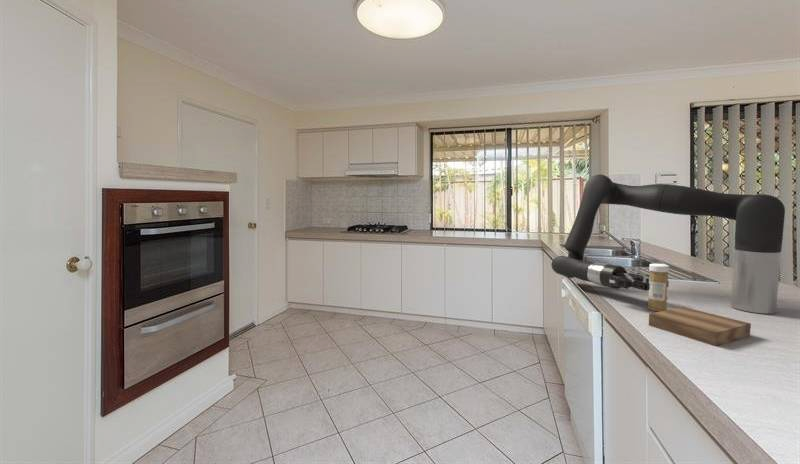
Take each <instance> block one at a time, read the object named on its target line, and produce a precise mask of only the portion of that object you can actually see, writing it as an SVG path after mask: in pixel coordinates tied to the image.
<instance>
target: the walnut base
mask: <svg viewBox="0 0 800 464" xmlns="http://www.w3.org/2000/svg"><path fill="white" fill-rule="evenodd" d="M648 326H650V327H654V328H657V329H660V330H663V331H666V332H670V333H672V334H676V335H679V336H683V337H686V338H688V339H692V340H695V341H698V342H702V343H705V344H707V345H711V346H714V347H717V346H720V345H723V344H727V343H730V342H731V343H732V342H733V341H737V340H740V339H741V340H742V339H744V338H747V337H750V336H751V328H752V327H751V326H752V323H751V322H746V321H742V320H738V319H735V318H730V317H725V316H723V315H717V314H713V313H709V312H705V311H701V310H697V309H694V308H689V307H685V306H681V307H679V306H678V307H675V308H670V309H667V310H665V311H660V312H659V311H654V312H653V313H652V312H651V313H648Z"/></svg>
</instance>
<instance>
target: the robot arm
mask: <svg viewBox="0 0 800 464" xmlns="http://www.w3.org/2000/svg"><path fill="white" fill-rule="evenodd" d="M601 204H602V205H618V206H620V205H621V206H628V207H629V206H630V207H634V208H639V209H644V210H648V211H654V212H659V213H667V214H672V215H673V214H674V215H680V216H682V215H683V216H684V215H685V216H700V217H701V216H703V217H704V216H706V217H707V216H708V217H717V218H723V219H728V220H733V221H735V230H734V253H733V254H734V255H733V267H732V283H731V292H730V293H731V296H730V307H732V308H733V309H737V310H739V311H745V312H748V313H753V314H754V313H755V314H766V315H772V314H776V313H777V305H778V304H777V303H778V297H779V296H778V295H779V294H778V293H779V284H780V283H779V281H780V271H781V270H780V269H781V257H782V247H783V240H784V239H783V237H784V225H785V218H786V217H785V215H786V209H785V205H784V203H783V202H782V200H781V199H780V198H778V197H776V196H774V195H770V194H761V193H760V194H737V193H723V192H717V191H711V190H708V189H707V190H706V189H702V188H696V187H690V186H685V185H677V184H668V183H667V184H666V183H655V184H654V183H653V184H652V183H651V184H646V185H645V184H644V185H628V184H623V183H617V182H613V180H612V179H611V178H610V177H608V176H607V175H605V174H595V175H593V176H590V178H589V179H588V180H586V182H585V185H584V188H583V192H582V196H581V200H580V205H579V208H578V211H577V214H576V217H575V220H574V222H573V225H572V227H571V230H570V231H569V234H568V236H567V239H566V240H565V243H564V249H565V250H566V252H568V254H567V256H565V255H560V256H559V255H558V256H556V257H555V258H553V259H552V261H551V269H552V271H553V272H554V273H556V274H558V275H559V276H563V277H566V278H567V279H568V278H569V279H574V278H577V279H579V280H581V281H583V282H589V283H593V284H594V285H600V286H603V287H606V288H610V289H616V290H620V289H625V290H628V289H632V290H633V289H634V290H635V289H637V290H642V291H645V292H647V291H648V292H649V289H650V284H649V279H650V274H647V273H641V272H636V273H635V272H627V270H626V269H625V267H623V266H621V265H616V264H610V263H605V262H604V263H603V262H594V261H587V260H584V253H585V250H586V249H587V246H588V244H589V241H590V240H591V239H590V238H591V236H592V234H593V230H594V225H595V219H596V215H597V212H598V210H599V208H600V206H601ZM668 287H669V280H668V285H667V288H668Z"/></svg>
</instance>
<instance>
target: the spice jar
mask: <svg viewBox="0 0 800 464" xmlns="http://www.w3.org/2000/svg"><path fill="white" fill-rule="evenodd" d="M648 270H649V275H650V279H649V284H650V289H649V290H648V295H647V296H648V302H647V303H648V304H647V309H648V310H650V311H653V312H660V311H665V310H668V309H667V304H668V303H667V301H668V287H667V285H668V286H669V284H668V281H669V276H668V275H669V272H670V266H669V265H668V264H665V263H650V264H649V267H648Z"/></svg>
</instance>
